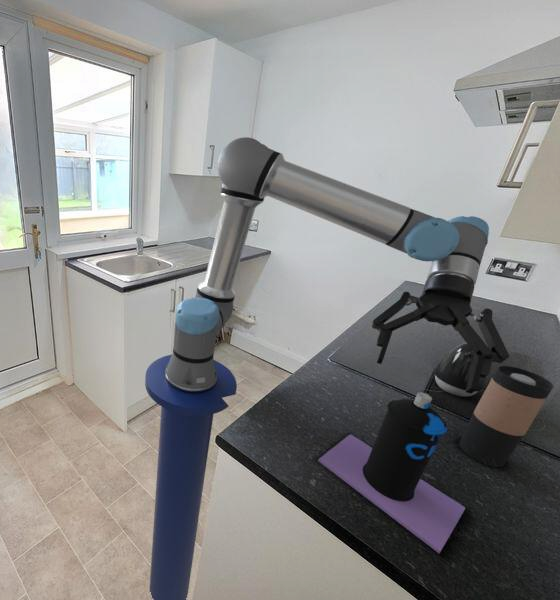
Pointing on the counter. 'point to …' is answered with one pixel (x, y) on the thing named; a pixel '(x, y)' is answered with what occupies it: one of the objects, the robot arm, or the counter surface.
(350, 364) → the counter surface
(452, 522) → the towel
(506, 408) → the travel mug
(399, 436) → the aerosol can
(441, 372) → the black egg-shaped dome
